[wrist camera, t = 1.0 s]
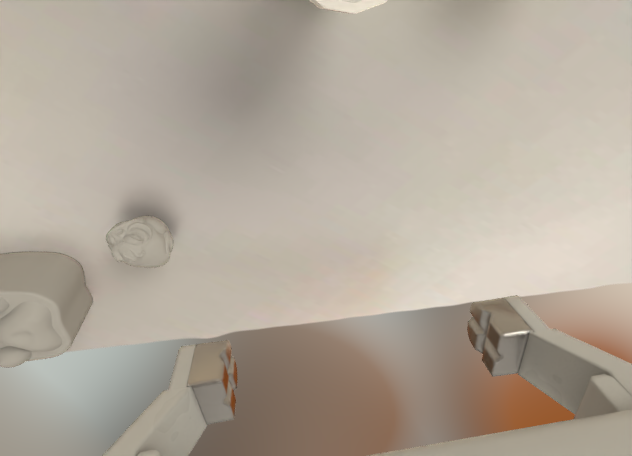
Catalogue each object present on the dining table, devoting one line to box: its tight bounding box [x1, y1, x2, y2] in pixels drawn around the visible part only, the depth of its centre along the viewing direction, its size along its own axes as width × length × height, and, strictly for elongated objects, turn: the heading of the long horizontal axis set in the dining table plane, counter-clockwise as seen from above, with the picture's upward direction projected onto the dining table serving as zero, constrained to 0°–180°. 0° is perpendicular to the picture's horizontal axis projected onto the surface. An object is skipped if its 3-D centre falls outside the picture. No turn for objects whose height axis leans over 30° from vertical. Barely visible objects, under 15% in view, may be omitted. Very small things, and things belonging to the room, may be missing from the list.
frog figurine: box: [106, 216, 174, 268], centre depth 41 cm, size 6×7×7 cm
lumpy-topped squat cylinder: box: [0, 252, 93, 368], centre depth 42 cm, size 10×13×9 cm
